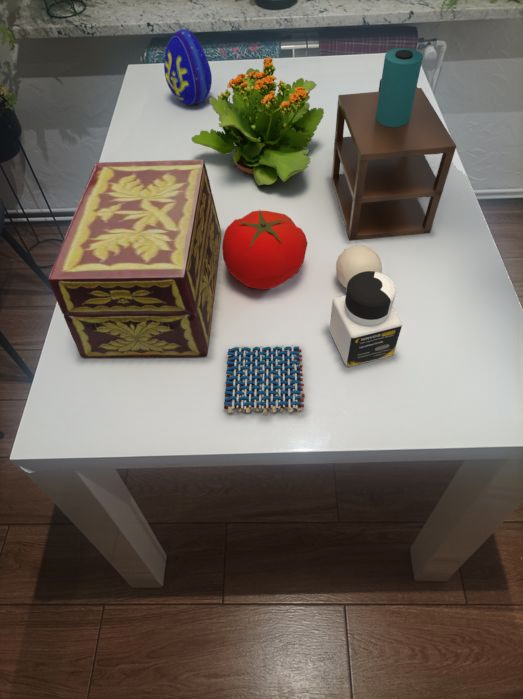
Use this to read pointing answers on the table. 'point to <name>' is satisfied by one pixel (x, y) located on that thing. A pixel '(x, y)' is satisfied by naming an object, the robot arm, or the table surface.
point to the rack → (388, 167)
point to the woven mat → (264, 379)
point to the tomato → (264, 249)
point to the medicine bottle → (365, 319)
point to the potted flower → (264, 124)
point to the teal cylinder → (398, 86)
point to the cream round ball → (356, 262)
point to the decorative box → (140, 261)
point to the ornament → (187, 68)
